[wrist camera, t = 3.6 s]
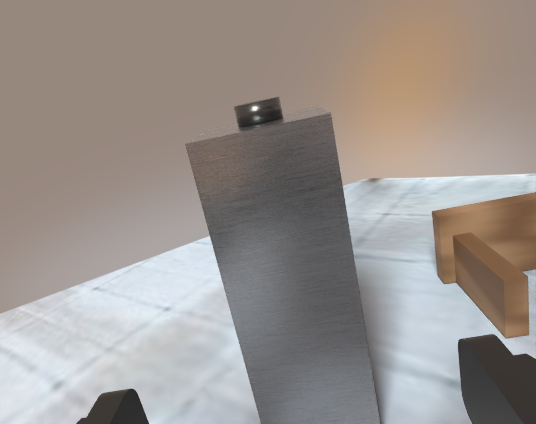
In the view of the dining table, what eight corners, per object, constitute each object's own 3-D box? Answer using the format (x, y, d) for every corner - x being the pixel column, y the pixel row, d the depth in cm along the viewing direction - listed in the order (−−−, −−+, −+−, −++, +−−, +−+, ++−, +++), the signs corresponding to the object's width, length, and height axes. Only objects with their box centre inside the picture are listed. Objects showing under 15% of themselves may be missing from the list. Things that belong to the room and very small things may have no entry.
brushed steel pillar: (361, 362, 22) (314, 87, 17) (383, 440, 17) (326, 87, 13) (272, 375, 22) (206, 111, 18) (269, 454, 17) (178, 120, 13)
